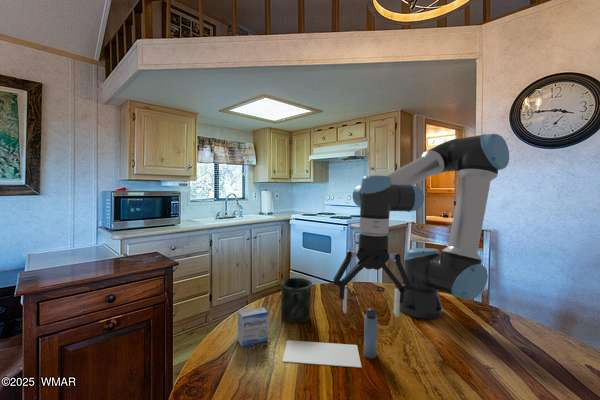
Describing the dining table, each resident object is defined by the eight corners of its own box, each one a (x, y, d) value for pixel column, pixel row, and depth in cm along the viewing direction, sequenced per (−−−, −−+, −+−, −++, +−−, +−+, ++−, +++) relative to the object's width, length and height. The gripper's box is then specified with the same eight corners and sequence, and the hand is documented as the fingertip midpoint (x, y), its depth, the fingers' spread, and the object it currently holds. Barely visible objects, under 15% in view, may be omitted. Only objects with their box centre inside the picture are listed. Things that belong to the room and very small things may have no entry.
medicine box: (241, 347, 78) (241, 317, 78) (237, 340, 82) (237, 310, 82) (268, 341, 82) (268, 312, 82) (263, 334, 86) (263, 306, 86)
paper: (356, 345, 81) (356, 345, 81) (361, 367, 71) (361, 366, 71) (287, 340, 82) (287, 340, 82) (282, 361, 72) (282, 361, 72)
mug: (310, 310, 104) (311, 278, 103) (312, 330, 89) (313, 292, 88) (281, 309, 104) (281, 277, 103) (277, 329, 89) (278, 291, 89)
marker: (375, 351, 78) (376, 307, 77) (377, 358, 75) (379, 312, 74) (362, 350, 78) (364, 306, 78) (364, 357, 75) (365, 311, 74)
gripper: (326, 233, 72) (323, 315, 73) (427, 238, 70) (423, 322, 71) (326, 229, 80) (323, 303, 81) (417, 233, 78) (413, 310, 78)
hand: (370, 312), depth 76 cm, fingers open, 13 cm apart
